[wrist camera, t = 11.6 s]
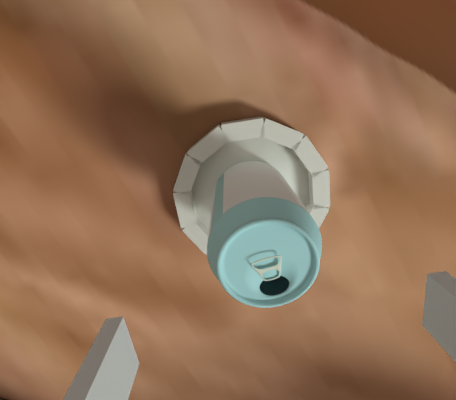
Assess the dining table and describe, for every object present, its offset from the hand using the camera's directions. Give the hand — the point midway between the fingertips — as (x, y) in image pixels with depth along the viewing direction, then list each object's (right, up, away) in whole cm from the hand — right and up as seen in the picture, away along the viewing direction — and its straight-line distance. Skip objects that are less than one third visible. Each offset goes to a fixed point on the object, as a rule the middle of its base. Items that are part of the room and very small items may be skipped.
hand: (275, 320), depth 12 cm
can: (0, +6, +15) cm, 16 cm away
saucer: (0, +6, +15) cm, 16 cm away
